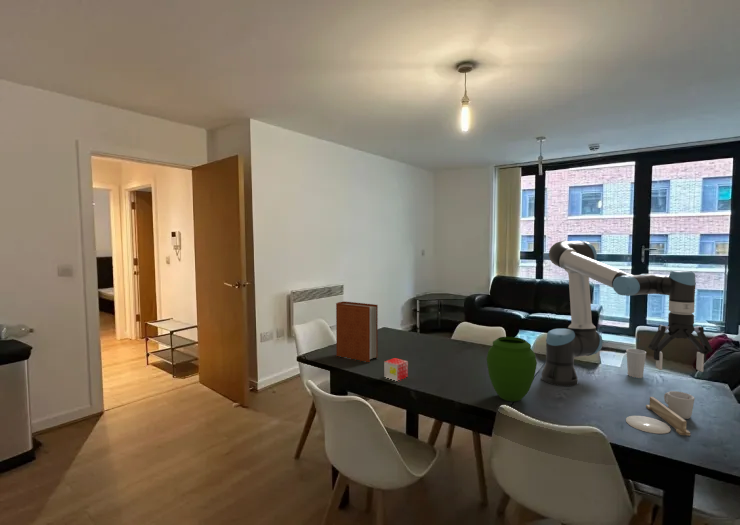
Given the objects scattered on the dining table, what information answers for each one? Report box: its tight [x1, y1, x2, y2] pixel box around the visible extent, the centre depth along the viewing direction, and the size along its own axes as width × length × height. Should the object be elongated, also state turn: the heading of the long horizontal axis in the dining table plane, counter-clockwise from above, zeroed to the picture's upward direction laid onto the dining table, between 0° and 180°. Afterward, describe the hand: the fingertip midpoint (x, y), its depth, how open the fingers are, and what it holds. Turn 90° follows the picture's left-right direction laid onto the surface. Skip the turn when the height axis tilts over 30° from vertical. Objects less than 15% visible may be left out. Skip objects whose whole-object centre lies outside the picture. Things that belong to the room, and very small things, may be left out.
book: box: [335, 301, 379, 363], centre depth 221 cm, size 23×8×30 cm, turn 58°
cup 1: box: [626, 348, 647, 379], centre depth 192 cm, size 8×8×12 cm
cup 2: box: [663, 390, 696, 420], centre depth 150 cm, size 11×8×8 cm
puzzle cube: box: [383, 357, 409, 382], centre depth 190 cm, size 8×8×8 cm
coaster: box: [625, 415, 671, 435], centre depth 142 cm, size 13×13×1 cm
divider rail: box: [645, 396, 691, 436], centre depth 145 cm, size 3×22×4 cm, turn 171°
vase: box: [486, 336, 538, 403], centre depth 165 cm, size 20×20×24 cm
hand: (679, 369), depth 149 cm, fingers open, 13 cm apart
